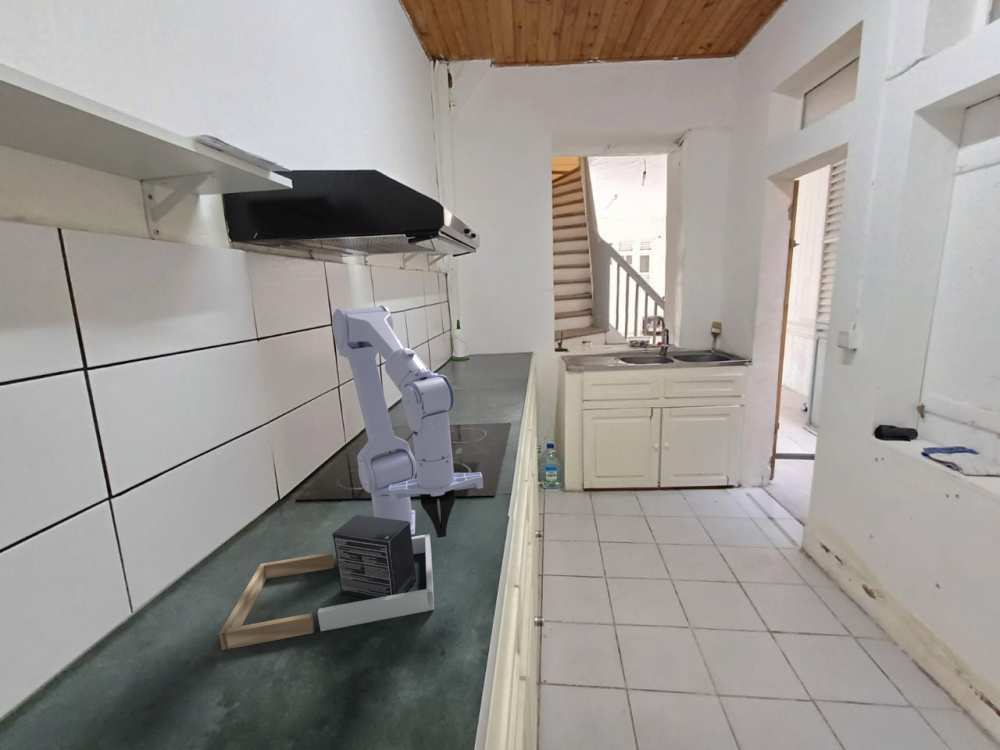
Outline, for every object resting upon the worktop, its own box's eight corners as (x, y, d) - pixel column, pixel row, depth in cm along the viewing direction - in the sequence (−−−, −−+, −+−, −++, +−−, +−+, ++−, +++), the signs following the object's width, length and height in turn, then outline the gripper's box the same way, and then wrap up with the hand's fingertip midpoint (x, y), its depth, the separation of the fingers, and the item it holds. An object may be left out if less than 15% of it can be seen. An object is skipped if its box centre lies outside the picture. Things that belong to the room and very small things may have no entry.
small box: (419, 578, 69) (412, 519, 67) (397, 606, 63) (389, 542, 61) (365, 568, 73) (357, 512, 71) (339, 593, 67) (330, 533, 65)
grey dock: (340, 564, 74) (338, 548, 74) (431, 548, 77) (429, 533, 77) (320, 631, 59) (317, 612, 59) (434, 609, 62) (432, 591, 61)
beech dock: (263, 576, 72) (260, 563, 72) (334, 565, 74) (332, 552, 74) (222, 650, 57) (218, 634, 57) (313, 632, 59) (310, 617, 59)
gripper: (383, 470, 61) (394, 556, 63) (483, 457, 63) (489, 539, 66) (387, 453, 68) (396, 531, 70) (477, 442, 70) (483, 517, 73)
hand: (441, 533), depth 69 cm, fingers closed
